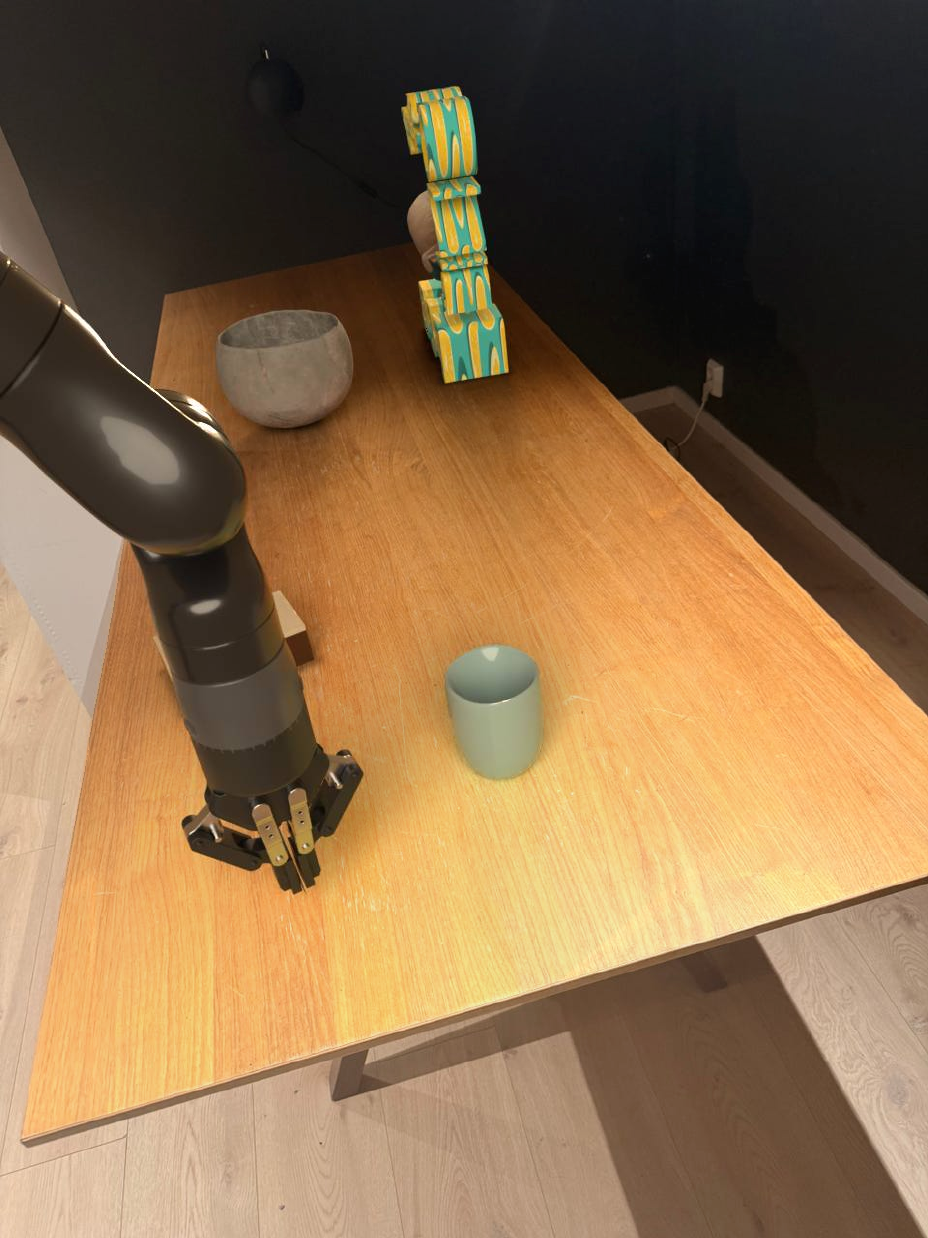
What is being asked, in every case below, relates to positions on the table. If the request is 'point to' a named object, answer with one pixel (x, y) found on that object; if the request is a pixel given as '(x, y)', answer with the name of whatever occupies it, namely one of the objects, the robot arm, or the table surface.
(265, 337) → the bowl
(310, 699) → the table surface
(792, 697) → the table surface
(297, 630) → the slice
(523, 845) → the table surface
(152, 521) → the robot arm
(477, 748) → the cup
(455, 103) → the party decoration
